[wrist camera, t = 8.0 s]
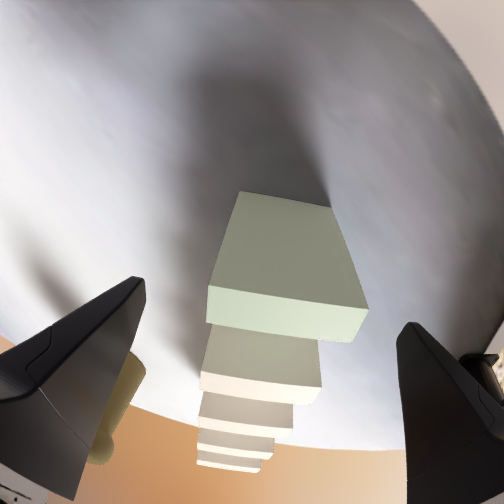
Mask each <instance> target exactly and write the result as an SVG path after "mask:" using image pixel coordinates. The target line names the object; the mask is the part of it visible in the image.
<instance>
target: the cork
mask: <svg viewBox="0 0 504 504" xmlns="http://www.w3.org/2000/svg"><path fill="white" fill-rule="evenodd" d="M145 375H146V369H145V367H144V365H143V364H142V362H141V361H140V360H139V359H138V358H137V357H136V356H135V355H133V354H132V353H131V352H129V353H128V355H127V357H126V360H125V362H124V364H123V367H122V369H121V371H120V374H119V376H118V379H117V381H116V383H115V386H114V388H113V391H112V393H111V396H110V398H109V401H108V403H107V406H106V408H105V411H104V413H103V416H102V419H101V421H100V424H99V426H98V429H97V432H96V435H95V437H94V440H93V443H92V446H91V449H90V452H89V455H88V458H87V461H86V462H88V463H91V464H96V465H104V464H105V463H107V462H108V461H109V460H110V458H111V457H112V455H113V451H114V443H113V440H112V435H113V433H114V431H115V429H116V427H117V425H118V423H119V422H120V420H121V418H122V416H123V414H124V412H125V411H126V409H127V407H128V405H129V403H130V402H131V400H132V398H133V396H134V394H135V392H136V391H137V389H138V387H139V385H140V384H141V382H142V380H143V378H144V376H145Z"/></svg>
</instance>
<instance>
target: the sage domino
mask: <svg viewBox="0 0 504 504" xmlns="http://www.w3.org/2000/svg"><path fill="white" fill-rule="evenodd" d="M368 310H369V308H368V305H367V302H366V299H365V296H364V293H363V290H362V287H361V284H360V281H359V278H358V275H357V273H356V270H355V267H354V264H353V262H352V259H351V256H350V253H349V251H348V248H347V246H346V243H345V240H344V238H343V235H342V233H341V230H340V228H339V225H338V223H337V220H336V218H335V215H334V213H333V210H332V208H330V207H325V206H320V205H315V204H310V203H305V202H300V201H295V200H290V199H284V198H279V197H273V196H268V195H262V194H256V193H250V192H244V191H239V194H238V197H237V200H236V203H235V206H234V209H233V212H232V215H231V218H230V220H229V223H228V226H227V229H226V232H225V235H224V239H223V242H222V245H221V248H220V251H219V254H218V257H217V260H216V263H215V266H214V269H213V272H212V276H211V279H210V282H209V285H208V298H207V312H206V323H210V324H216V325H221V326H227V327H233V328H239V329H245V330H251V331H258V332H264V333H271V334H278V335H285V336H293V337H301V338H309V339H318V340H327V341H337V342H347V343H351V342H352V340H353V338H354V337H355V335H356V333H357V331H358V329H359V328H360V326H361V324H362V322H363V320H364V318H365V316H366V314H367V312H368Z"/></svg>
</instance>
